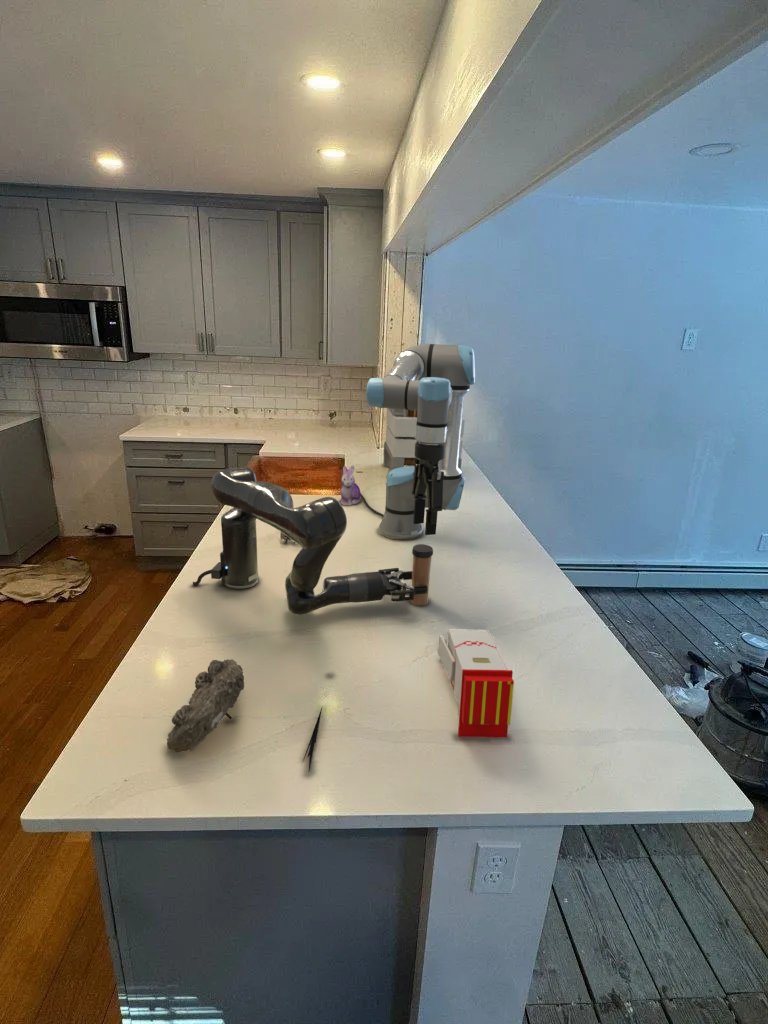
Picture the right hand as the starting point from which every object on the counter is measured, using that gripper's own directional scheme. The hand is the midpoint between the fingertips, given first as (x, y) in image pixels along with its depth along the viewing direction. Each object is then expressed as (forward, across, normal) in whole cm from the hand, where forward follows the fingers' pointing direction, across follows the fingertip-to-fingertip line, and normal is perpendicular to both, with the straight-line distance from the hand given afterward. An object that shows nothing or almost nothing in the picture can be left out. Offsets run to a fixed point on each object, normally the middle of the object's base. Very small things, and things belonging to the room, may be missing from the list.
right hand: (424, 528), depth 147 cm
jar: (+21, 0, 0) cm, 21 cm away
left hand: (+15, 0, 0) cm, 15 cm away
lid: (+6, 0, 0) cm, 6 cm away
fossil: (+21, -33, +55) cm, 68 cm away
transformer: (+21, +119, -47) cm, 130 cm away
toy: (+21, -39, +4) cm, 45 cm away
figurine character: (+21, +51, +26) cm, 61 cm away
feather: (+21, -39, +36) cm, 57 cm away
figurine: (+21, +84, -3) cm, 87 cm away
